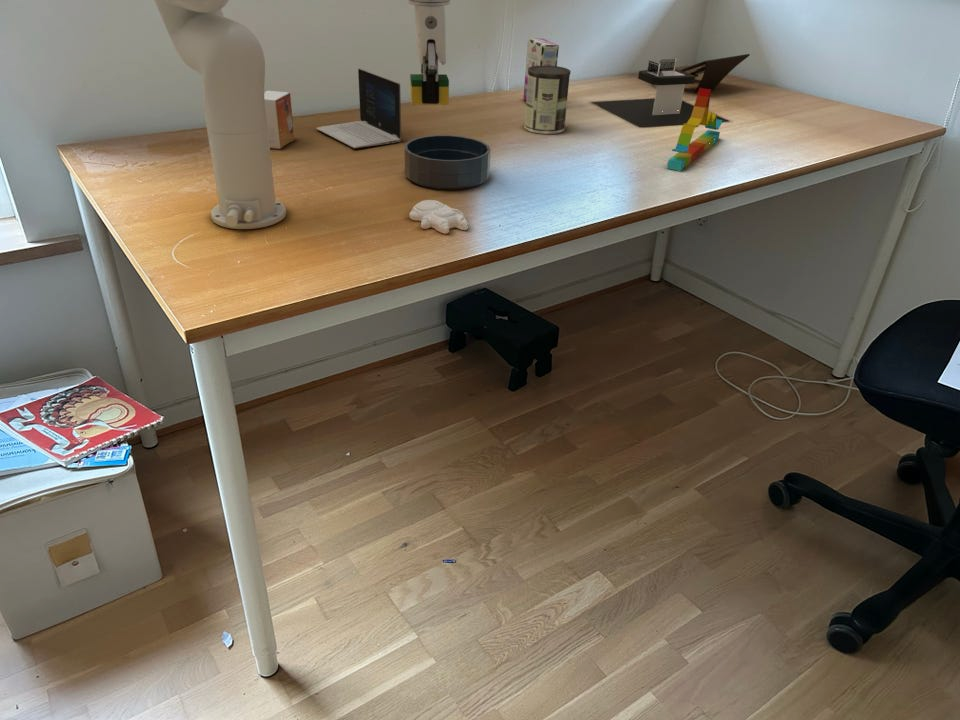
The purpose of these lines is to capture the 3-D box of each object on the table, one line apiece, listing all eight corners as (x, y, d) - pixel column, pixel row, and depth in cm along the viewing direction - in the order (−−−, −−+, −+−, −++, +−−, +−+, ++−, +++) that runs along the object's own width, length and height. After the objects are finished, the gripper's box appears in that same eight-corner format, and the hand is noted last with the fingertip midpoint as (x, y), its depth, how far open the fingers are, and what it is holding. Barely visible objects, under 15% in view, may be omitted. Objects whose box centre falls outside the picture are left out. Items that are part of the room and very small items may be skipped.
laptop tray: (692, 97, 245) (686, 69, 243) (753, 77, 226) (748, 46, 224) (648, 106, 232) (642, 76, 230) (710, 85, 213) (704, 53, 211)
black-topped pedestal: (674, 97, 218) (683, 50, 211) (729, 121, 198) (741, 69, 190) (591, 102, 209) (597, 52, 202) (640, 127, 188) (648, 72, 181)
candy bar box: (553, 109, 200) (559, 45, 191) (536, 110, 199) (542, 45, 190) (538, 99, 209) (544, 37, 200) (522, 99, 208) (527, 37, 199)
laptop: (315, 130, 174) (311, 72, 167) (361, 123, 180) (359, 67, 173) (354, 150, 162) (351, 89, 155) (401, 142, 169) (401, 83, 162)
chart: (705, 137, 183) (718, 74, 175) (718, 139, 182) (732, 76, 174) (665, 168, 161) (678, 97, 153) (680, 171, 160) (693, 100, 152)
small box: (280, 149, 160) (275, 100, 155) (256, 147, 161) (250, 97, 155) (295, 139, 167) (290, 92, 161) (272, 137, 168) (267, 89, 162)
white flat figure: (431, 237, 124) (431, 220, 122) (402, 212, 133) (402, 196, 131) (476, 229, 128) (477, 213, 126) (445, 206, 136) (446, 190, 135)
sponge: (448, 104, 139) (448, 80, 137) (411, 104, 138) (411, 79, 136) (446, 98, 143) (446, 74, 141) (410, 98, 142) (410, 74, 140)
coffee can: (553, 121, 189) (558, 64, 182) (571, 133, 181) (578, 73, 174) (516, 124, 186) (521, 65, 178) (534, 135, 178) (539, 74, 170)
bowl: (494, 191, 144) (495, 161, 141) (406, 191, 142) (406, 160, 139) (483, 163, 159) (484, 135, 155) (403, 163, 156) (403, 134, 153)
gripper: (454, 1, 124) (453, 111, 134) (445, -12, 138) (445, 89, 148) (410, 0, 123) (412, 111, 133) (406, -13, 137) (408, 88, 147)
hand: (429, 98), depth 141 cm, fingers closed on sponge, 4 cm apart
